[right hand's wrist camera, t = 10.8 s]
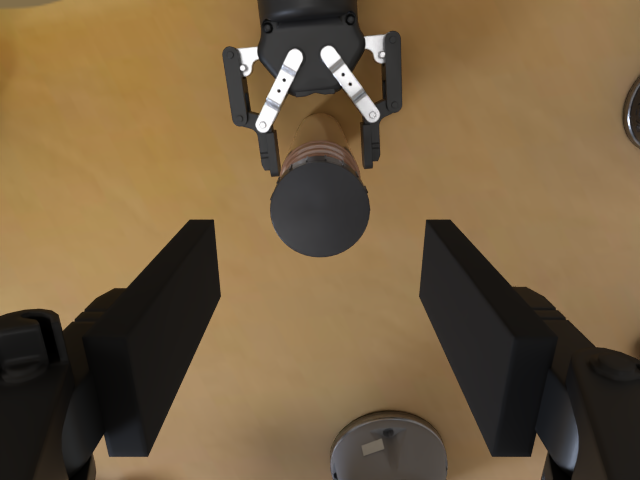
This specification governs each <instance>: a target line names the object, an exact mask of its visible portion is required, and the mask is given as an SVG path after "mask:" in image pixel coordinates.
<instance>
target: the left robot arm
mask: <svg viewBox="0 0 640 480" xmlns="http://www.w3.org/2000/svg"><path fill="white" fill-rule="evenodd" d="M257 1H258V9H259V17H260V25H261V38H260V42H259V44H258V47H250V48H239V49H237V48H234V47H230V46H229V47H226V48H225V49H224V50H223V54H222V55H223V62H224V68H225V75H226V81H227V88H228V94H229V101H230V107H231V113H232V120H233V122H234V124H235V125H237V126H243V127H247V128H250V129H253V130H254V131H255V132H256V133H257V135H258V141H259V148H260V155H261V162H262V166H263V168H264V170H270V173H271V177H275V176H280V172H281V165H280V157H279V149H278V141H277V132H276V130H274V129H273V124H274V122H275V120H276V118H277V116H278V114H279V112H280V110H281V108H282V106H283V104H284V102H285V100H286V98H287V96H288V94H290V95H292V96H296V97H303V96H308V95H310V94H313V93H320V94H335V92H338V91H339V90H341V89H343V90H344V92H345V93H346V94H347V96H348V97H349V98H350V100H351V101H352V102H353V104H354V105H355V106H356V108H357V109H358V110H359V112H360V113H361V114H362V119H363V122H360V128H361V147H362V163H363V167H364V169H370V168H373V161H378V159H379V157H380V139H379V123H380V121H381V119H382V118H384V117H385V116H387V115H389V114H392V113H396V112H398V111H399V110H400V109H401V107H402V77H401V37H400V35H399V33H398V32H396V31H390V32H388V33H386V34H383V35H372V36H364V35H363V33H362V32H361V30H360V28H359V24H358V16H357V0H257ZM364 50H368V51H370V52H371V54H372V57H373V60H374V61H375V62H376V63H378V64H381V65H382V93H383V99H382V100H380V101H378V102H376V103H373V102H372V100H371V99H370V98H369V96H368V95H367V94H366V92H365V90H364V89H363V87H362V86H361V85H360V83H359V82H358V81H357V79H356V78H355V76H354V75H353V74H352V71H353V70H354V68H355V66H356V64H357V63H358V61H359V59H360V58H361V56H362V54H363V52H364ZM258 60H260V62H261V63H262V64H263V65H264V66H265V68H266V69H267V70H268V71H269V72H270V73H271V75H272V76H273V77H274V78H275V79H276V80H275V82H274V84H273V86H272V88H271V90H270V92H269V94H268V97H267V99H266V102H265V104H264V106H263V108H262V110H261V112H260V114H259V113H255V112H252V111H251V108H250V101H249V93H248V86H247V79H246V76H250V75H251V74H252V73H253V66H254V63H255V62H256V61H258ZM623 123H624V128H625V131H626V134H627V136H628V137H629V139H630V140H631V142H632V143H633V144H634V145H635V146H637V147H638V148H640V76H639V78H638V79H637V80H636V82H635V83H634V84H633V86H632V88H631V90H630V92H629V94H628V96H627V99H626V102H625V105H624V111H623Z"/></svg>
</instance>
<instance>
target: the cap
mask: <svg viewBox="0 0 640 480" xmlns="http://www.w3.org/2000/svg"><path fill="white" fill-rule="evenodd" d="M367 193H368V191H367V189H366V186H364V185H363V183H362V181H361V179H360V177H359V175H358V172H357V171H354V170H353V169H352V168H351V167H350V166H349V165H347V164H346V163H344V161H343V160H342V161H341V160H339V159H336V158H333V157H328V156H326V155H324V156H312V157H308V156H306V158H304V159H302V160H299V161H297V162H296V163H294V164H293V165H292V164H290V167H289V168H288V169H287V170H286V171H285V172H284V173H283V174H282V176H281V177H280V176H279V178H278V180H277V185H276V187H275V190H274V192H273V194H272V196H271V199H270V200H271V205H270V214H271V220H272V224H273V226H274V229H275V231H276V233H277V234H278V236H279V237H280V239H281V240H282V241H283V242H284V243H285V244H286V245H287V246H289V247H290V248H291V249H293V250H295V251H296V252H299V253H301V254H304V255H307V256H311V257H328V256H333V255H337V254H339V253H342V252H344V251H345V250H347V249H349V248H350V247H351V246H353V245H354V244H355V243H356V242H357V241H358V240H359V238H360V237H361V236H362V234H363V233H364V231H365V229H366V226H367V224H368V220H369V214H370V205H369V199H368V195H367Z"/></svg>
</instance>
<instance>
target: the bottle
mask: <svg viewBox="0 0 640 480" xmlns="http://www.w3.org/2000/svg"><path fill="white" fill-rule="evenodd" d="M324 155H326V156H328V157H333V158H336V159H339V160H341V161H342V160H343V161H344V163H346V164H347V165H349V166H350V167H351V168H352V169H353V170H354V171H357V172H358V175H359V177H360V171H359V168H358V165H357V163H356V161H355V158H354V156H353V154H352V151H351V149H350V147H349V144H348V142H347V140H346V137H345V135H344V133H343V131H342V128H341V126H340V124H339V123H338V121H337V120H336V119H335V118H333V117H332V116H330V115H328V114H324V113H316V114H312V115H310V116H308V117H307V118H305V119H304V120H303V121H302V123H301V124H300V126H299V128H298V130H297V133H296V135H295V137H294V140H293V142H292V144H291V147H290V149H289V151H288V154H287V156H286V158H285V161H284V163H283V165H282V168H281V172H280V177H281V176H282V174H283V173H284V172H285V171H286V170H287V169H288V168H289V167H290V164H292V165H293V164H294V163H296V162H297V161H299V160H302V159H304V158H306V156H308V157H312V156H324Z"/></svg>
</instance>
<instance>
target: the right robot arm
mask: <svg viewBox="0 0 640 480" xmlns="http://www.w3.org/2000/svg"><path fill="white" fill-rule="evenodd" d="M220 297H221V293H220V282H219V271H218V260H217V250H216V239H215V228H214V220H189V221H188V222H187V223H186V224H185V225H184V227H183V228H182V229H181V230H180V231H179V232H178V233H177V234H176V235H175V236H174V237H173V238H172V240H171V241H170V242H169V243H168V244H167V245H166V246H165V247H164V248H163V249H162V250H161V251H160V253H159V254H158V255H157V256H156V257H155V258H154V259H153V260H152V261H151V262H150V263H149V265H148V266H147V267H146V268H145V269H144V270H143V271H142V272H141V273H140V274H139V275H138V276H137V278H136V279H135V280H134V281H133V282H132V283H131V284H130V285H129V286H128V287H127V288H114V289H112V290H110V291H109V292H107V293H105V294H103V295H101V296H99V297H97V298H96V299H95V300H94V301H93V302H92V303H91V304H90V305H89V306H88V307H87V308H86V309H85V311H84V312H82V313H81V314H80V315H79V316H78V317H77V318H76V319H75V322H71V323H70V324H69V325H68V326H67V327H66V328H65V329H64V330H63V331H62V327H61V323H60V319H59V315H58V314H56V313H55V312H53V311H52V310H45V309H29V310H21V311H17V312H12V313H8V314H5V315H2V316H0V480H95V477H96V467H95V461H94V457H93V451H94V450H95V448H96V446H97V445H98V443H99V441H100V440H101V438H102V436H103V435H104V437H105V441H106V445H107V450H108V454H109V457H148V455H149V453H150V451H151V449H152V447H153V444H154V442H155V440H156V438H157V436H158V433H159V431H160V429H161V427H162V425H163V422H164V420H165V418H166V416H167V414H168V411H169V409H170V407H171V405H172V403H173V400H174V398H175V396H176V394H177V392H178V389H179V387H180V385H181V383H182V381H183V378H184V376H185V374H186V372H187V370H188V367H189V365H190V363H191V361H192V359H193V356H194V354H195V352H196V350H197V348H198V345H199V343H200V341H201V339H202V337H203V334H204V332H205V330H206V328H207V326H208V323H209V321H210V319H211V317H212V315H213V312H214V310H215V308H216V306H217V304H218V301H219V299H220ZM419 297H420V299H421V301H422V304H423V306H424V308H425V310H426V312H427V315H428V317H429V319H430V321H431V323H432V326H433V328H434V330H435V332H436V334H437V337H438V339H439V341H440V343H441V345H442V348H443V350H444V352H445V354H446V356H447V359H448V361H449V363H450V365H451V367H452V370H453V372H454V374H455V376H456V378H457V381H458V383H459V385H460V387H461V389H462V392H463V394H464V396H465V398H466V400H467V403H468V405H469V407H470V409H471V411H472V414H473V416H474V418H475V420H476V422H477V425H478V427H479V429H480V431H481V433H482V436H483V438H484V440H485V442H486V444H487V447H488V449H489V451H490V453H491V455H492V457H531V454H532V450H533V445H534V441H535V437H536V432H537V434H538V436H539V437H540V439H541V441H542V442H543V444H544V446H545V447H546V449H547V450H548V453H547V457H546V461H545V465H544V469H543V473H542V477H541V480H640V361H639V360H638V359H636V358H633V357H631V356H629V355H626V354H624V353H622V352H618V351H614V350H610V349H606V348H598V347H595V346H594V345H593V344H592V343H591V342H590V341H589V340H588V339H587V338H586V337H585V336H584V335H583V334H582V333H581V332H580V331H579V330H578V329H577V328H576V327H575V326H574V325H573V324H572V323H571V322H570V321H569V320H566V318H565V317H564V316H563V315H562V314H561V313H560V312H559V311H558V310H556V308H555V307H554V306H553V305H552V304H551V303H550V302H549V301H548V300H547V299H546V298H545V297H544V296H542V295H540V294H538V293H536V292H534V291H533V290H531V289H529V288H527V287H512V286H511V285H510V284H509V283H508V282H507V281H506V280H505V279H504V278H503V276H502V275H501V274H500V273H499V272H498V271H497V270H496V269H495V268H494V267H493V266H492V265H491V263H490V262H489V261H488V260H487V259H486V258H485V257H484V256H483V255H482V254H481V253H480V251H479V250H478V249H477V248H476V247H475V246H474V245H473V244H472V243H471V242H470V241H469V240H468V238H467V237H466V236H465V235H464V234H463V233H462V232H461V231H460V230H459V229H458V228H457V227H456V225H455V224H454V223H453V222H452V221H451V220H426V228H425V239H424V250H423V260H422V271H421V282H420V293H419ZM330 466H331V473H332V478H333V480H446V476H447V468H448V463H447V455H446V451H445V448H444V445H443V442H442V439H441V437H440V435H439V434H438V432H437V431H436V430H435V428H433V427H432V426H431V425H430V424H429V423H428V422H426V421H425V420H423V419H421V418H419V417H417V416H414V415H411V414H408V413H403V412H394V411H386V412H377V413H373V414H369V415H366V416H363V417H361V418H359V419H357V420H355V421H353V422H351V423H350V424H348V425H347V426H346V427H345V428H344V429H343V430H342V431H341V432H340V433H339V434H338V436H337V437H336V439H335V440H334V442H333V445H332V448H331V453H330Z"/></svg>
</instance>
